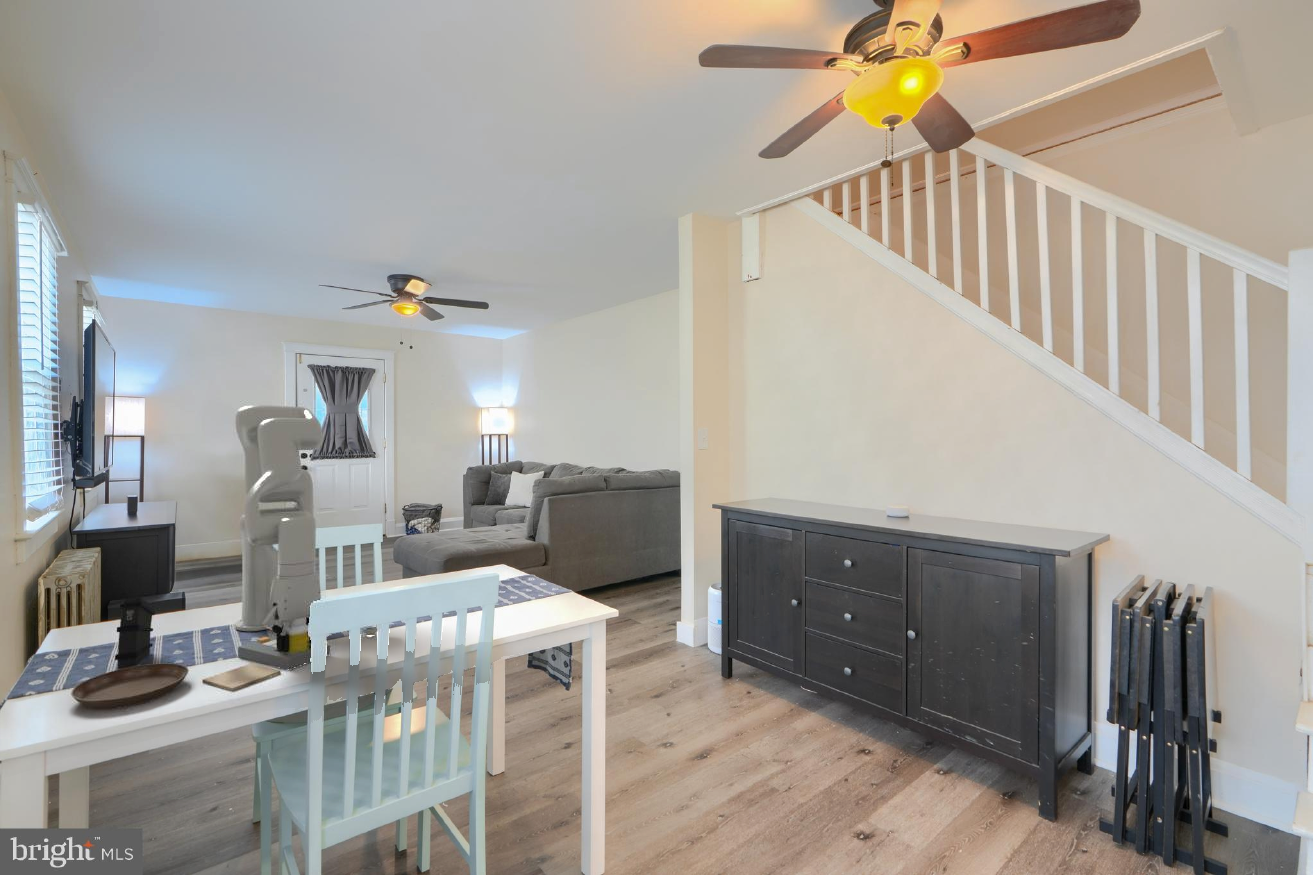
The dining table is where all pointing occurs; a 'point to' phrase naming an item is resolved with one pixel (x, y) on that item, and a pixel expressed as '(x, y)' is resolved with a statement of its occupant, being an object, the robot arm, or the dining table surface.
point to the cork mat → (241, 677)
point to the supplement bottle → (298, 636)
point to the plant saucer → (129, 685)
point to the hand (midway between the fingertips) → (295, 646)
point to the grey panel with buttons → (273, 654)
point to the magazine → (134, 632)
